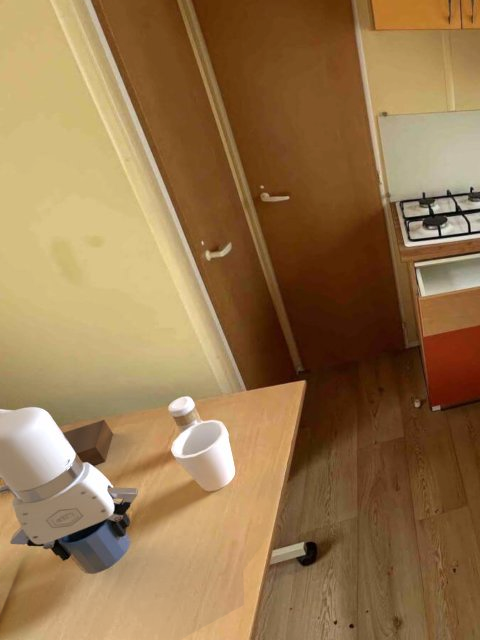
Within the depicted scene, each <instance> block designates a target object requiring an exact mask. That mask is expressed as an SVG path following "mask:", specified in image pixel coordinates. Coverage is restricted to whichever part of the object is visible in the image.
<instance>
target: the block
mask: <svg viewBox="0 0 480 640" xmlns="http://www.w3.org/2000/svg"><path fill="white" fill-rule="evenodd" d="M62 433H63V435H64V436H65V438H66V439H67V441H68V442H69V444H70V445H71V446H72V448H73V449H74V451H75V452H76V454H77V455H78V457H79V458H80V460H81V461H82V463H85V462H88V463H89V464H91V465H92V466H94V467H95V466H97V465H100V464H102V463H106V461H107V457H108V454H109V451H110V447H111V443H112V439H113V435H114V433H113V431H112V429H111V428H110V427H109V425H108V423H107V422H106V420H105V419H102V420H99V421H96V422H92V423H89V424H85V425H83V426H80V427H76V428H73V429H71V430H68V431H65V432H62Z"/></svg>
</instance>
